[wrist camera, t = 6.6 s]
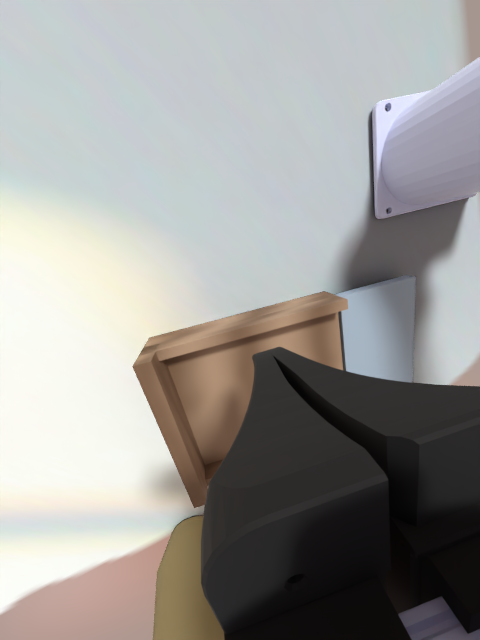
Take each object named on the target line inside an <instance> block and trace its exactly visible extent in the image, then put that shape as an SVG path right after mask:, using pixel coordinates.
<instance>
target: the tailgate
mask: <svg viewBox="0 0 480 640" xmlns="http://www.w3.org/2000/svg"><path fill="white" fill-rule="evenodd" d="M415 289H416V276H409V275H405V276H401V277H397V278H393V279H390V280H386V281H382V282H379V283H375V284H371V285H368V286H364V287H360V288H356V289H353V290H349V291H345V292H342V293H338V294H334V295H337V296H339V297H342V298H345V299H348V309H347V310H343V311H340V312H338V317H339V329H340V340H341V352H342V363H343V370H344V371H348V372H352V373H356V374H360V375H365V376H370V377H375V378H381V379H387V380H394V381H402V382H411V383H413V355H414V322H415Z"/></svg>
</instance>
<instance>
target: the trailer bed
mask: <svg viewBox="0 0 480 640" xmlns="http://www.w3.org/2000/svg"><path fill="white" fill-rule="evenodd" d="M347 309H348V299H345V298H342V297H339V296H337V295H334V294H331V293H328V292H325V291H324V292H320V293H316V294H312V295H309V296H305V297H301V298H297V299H293V300H290V301H286V302H282V303H278V304H275V305H271V306H267V307H263V308H260V309H256V310H252V311H248V312H245V313H241V314H237V315H233V316H230V317H226V318H222V319H218V320H215V321H211V322H207V323H203V324H200V325H196V326H192V327H188V328H185V329H181V330H177V331H173V332H170V333H166V334H162V335H158V336H155V337H151V338H149V339H148V341H147V343H146V344H145V346H144V348H143V350H142V351H141V353H140V355H139V356H138V358H137V360H136V361H135V363H134V365H133V369H134V371H135V373H136V375H137V378H138V380H139V382H140V385H141V387H142V389H143V392H144V394H145V396H146V398H147V401H148V403H149V405H150V408H151V410H152V412H153V414H154V417H155V419H156V421H157V424H158V426H159V428H160V430H161V433H162V435H163V437H164V440H165V442H166V444H167V447H168V449H169V451H170V453H171V456H172V458H173V460H174V463H175V465H176V467H177V469H178V472H179V474H180V476H181V479H182V481H183V483H184V485H185V488H186V490H187V492H188V495H189V497H190V499H191V502H192V504H193V506H194V508H196V507H199V506H202V505H205V502H206V497H207V491H208V486H209V482H210V480H211V479H212V477H213V476H214V474H215V473H216V471H217V469H218V468H219V466H220V465H221V463H222V461H223V460H224V458H225V457H226V455H227V453H228V451H229V450H230V448H231V446H232V444H233V442H234V440H235V438H236V436H237V434H238V432H239V430H240V427H241V425H242V423H243V420H244V417H245V414H246V412H247V409H248V405H249V402H250V398H251V394H252V388H253V382H254V364H253V360H252V356H253V355H254V354H256V353H259V352H263V351H266V350H270V349H273V348H276V347H282V348H285V349H287V350H289V351H292V352H294V353H296V354H298V355H301V356H303V357H306V358H308V359H311V360H313V361H316V362H318V363H321V364H324V365H327V366H330V367H333V368H336V369H340V370H343V363H342V352H341V340H340V329H339V317H338V312H340V311H343V310H347Z"/></svg>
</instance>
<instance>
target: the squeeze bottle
mask: <svg viewBox="0 0 480 640" xmlns="http://www.w3.org/2000/svg"><path fill="white" fill-rule="evenodd" d="M202 525H203V516H194V517H191V518H189V519H186V520H184V521H182V522H181V523H180V524H178V525H177V526H176V527H175V529H174V531H173V532H172V535H171V537H170V540H169V542H168V545H167V548H166V550H165V553H164V556H163V558H162V561H161V563H160V566H159V568H158V571H157V581H156V598H155V614H154V631H153V640H225V639H224V631H223V629H222V628H221V626H220V624H219V622H218V620H217V618H216V616H215V614H214V613H213V611H212V609H211V607H210V605H209V603H208V601H207V600H206V598H205V596H204V592H203V589H202V585H201V535H202Z"/></svg>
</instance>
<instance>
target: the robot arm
mask: <svg viewBox="0 0 480 640" xmlns="http://www.w3.org/2000/svg"><path fill="white" fill-rule="evenodd" d="M385 106H386V107H387V112H386V110H385ZM372 123H373V161H374V199H375V216H376V218H377V219H383V218H387V217H391V216H395V215H400V214H404V213H408V212H412V211H416V210H420V209H424V208H428V207H432V206H436V205H441V204H445V203H449V202H453V201H457V200H461V199H465V198H469V197H473V196H475V195H476V194H477V193H479V192H480V57H479V58H477V59H476V60H474V61H473V62H472V63H470V64H469V65H467V66H466V67H464V68H463V69H461V70H460V71H458V72H457V73H456V74H454V75H453V76H451V77H450V78H448V79H447V80H445V81H444V82H443V83H441V84H440V85H438V86H437V87H435V88H434V89H432V90H431V91H427V92H422V93H417V94H411V95H406V96H401V97H396V98H391V99H386V100H381V101H379V102H378V103H377V104H376V105H375V106H374V107H373V110H372ZM386 209H388V213H386ZM252 360H253V364H254V382H253V388H252V394H251V398H250V402H249V405H248V409H247V412H246V414H245V417H244V420H243V423H242V425H241V427H240V430H239V432H238V434H237V436H236V438H235V440H234V442H233V444H232V446H231V448H230V450H229V451H228V453H227V455H226V457H225V458H224V460H223V461H222V463H221V465H220V466H219V468H218V469H217V471H216V473H215V474H214V476H213V477H212V479H211V480H210V482H209V486H208V491H207V497H206V502H205V509H204V515H203V525H202V535H201V585H202V589H203V592H204V596H205V598H206V600H207V601H208V603H209V605H210V607H211V609H212V611H213V613H214V614H215V616H216V618H217V620H218V622H219V624H220V626H221V628H222V629H223V631H224V639H225V640H480V387H477V386H453V385H432V384H421V383H411V382H402V381H394V380H387V379H381V378H375V377H370V376H365V375H360V374H356V373H352V372H348V371H344V370H340V369H336V368H333V367H330V366H327V365H324V364H321V363H318V362H316V361H313V360H311V359H308V358H306V357H303V356H301V355H298V354H296V353H294V352H292V351H289V350H287V349H285V348H282V347H276V348H273V349H270V350H266V351H263V352H259V353H256V354H254V355H253V356H252Z"/></svg>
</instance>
